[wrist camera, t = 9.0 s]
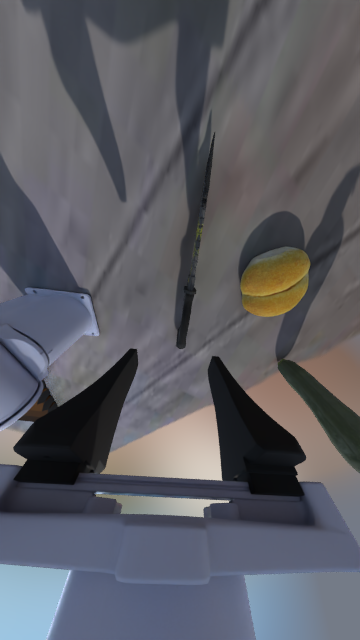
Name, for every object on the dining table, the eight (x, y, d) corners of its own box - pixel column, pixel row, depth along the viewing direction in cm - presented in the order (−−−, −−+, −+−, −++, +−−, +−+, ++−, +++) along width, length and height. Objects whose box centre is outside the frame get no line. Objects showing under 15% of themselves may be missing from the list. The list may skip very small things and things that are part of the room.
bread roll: (242, 316, 22) (253, 330, 18) (234, 262, 17) (247, 267, 14) (297, 301, 20) (320, 313, 17) (303, 237, 16) (337, 235, 12)
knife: (200, 159, 14) (209, 112, 10) (213, 162, 14) (229, 116, 10) (176, 338, 24) (175, 356, 19) (184, 339, 24) (185, 357, 20)
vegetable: (268, 354, 26) (435, 573, 9) (292, 345, 25) (542, 582, 7) (274, 367, 28) (421, 568, 11) (296, 359, 26) (505, 575, 9)
